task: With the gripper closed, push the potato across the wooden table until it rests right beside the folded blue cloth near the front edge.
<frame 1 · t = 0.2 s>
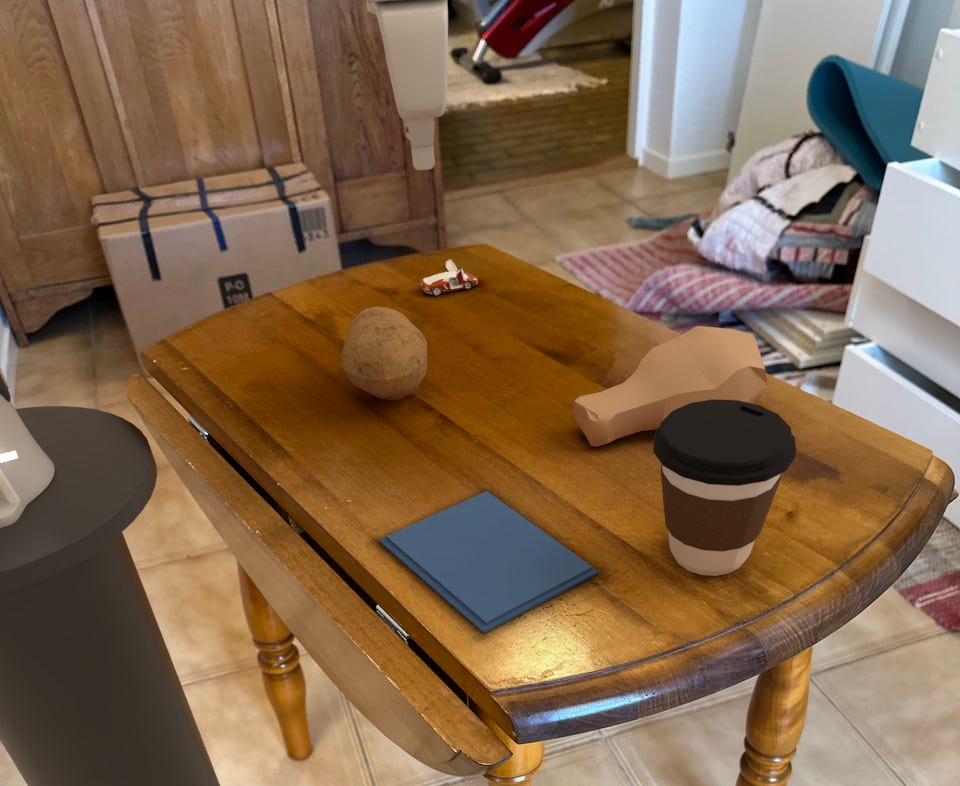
hand: (419, 152, 81), 27 cm above the table, tool pointing down, fingers open, 8 cm apart
toy car: (450, 289, 126), on the table
coffee cup: (708, 556, 80), on the table
potato: (390, 393, 105), on the table
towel: (485, 557, 81), on the table
squash: (669, 426, 96), on the table
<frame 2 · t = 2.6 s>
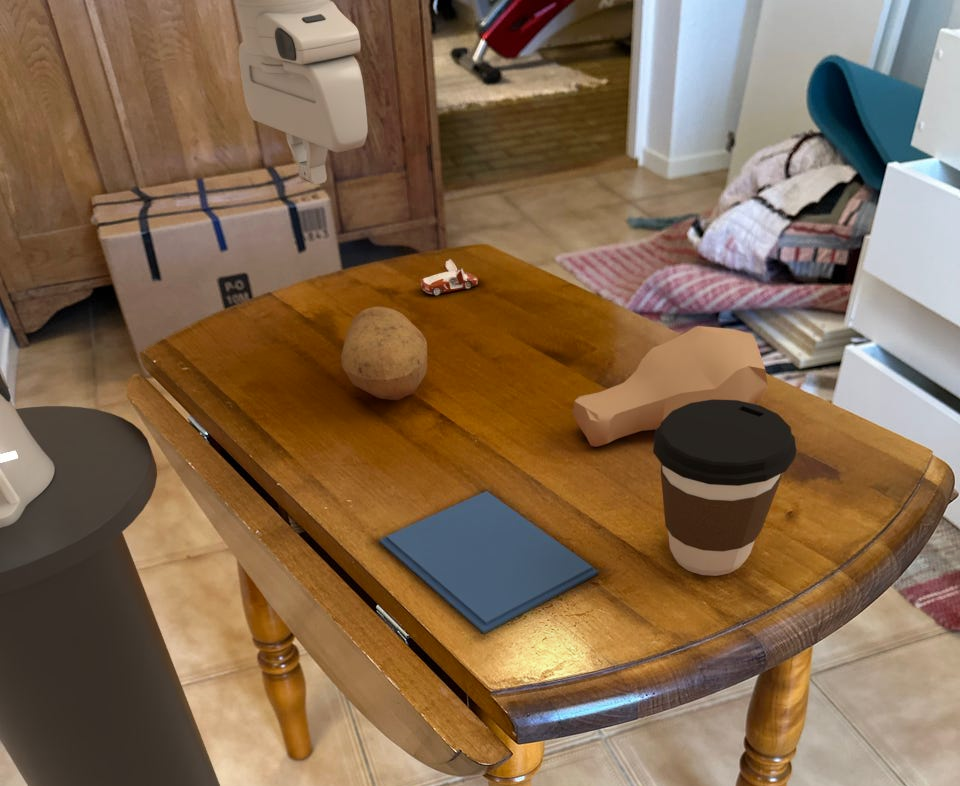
hand: (313, 181, 98), 20 cm above the table, tool pointing down, fingers closed
nothing on the table moved.
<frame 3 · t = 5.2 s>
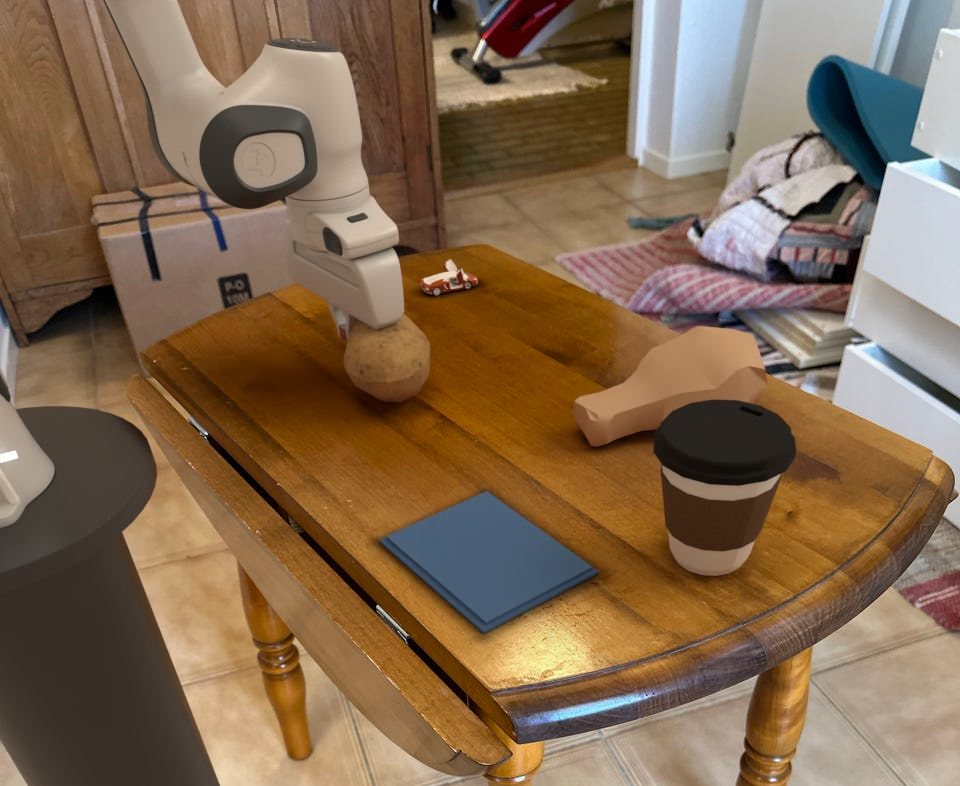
hand: (351, 340, 108), 3 cm above the table, tool pointing down, fingers closed
potato: (393, 395, 105), on the table, touching gripper
everything else where it was.
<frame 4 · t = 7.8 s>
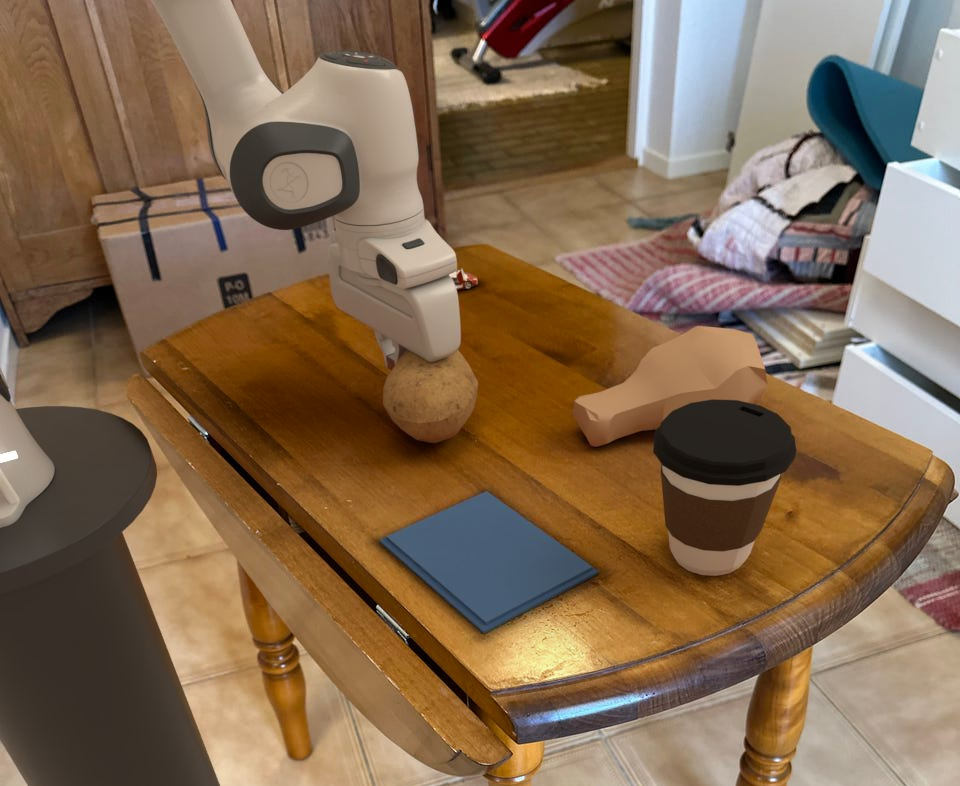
hand: (398, 370, 101), 3 cm above the table, tool pointing down, fingers closed
potato: (434, 432, 98), on the table, touching gripper
everything else where it was.
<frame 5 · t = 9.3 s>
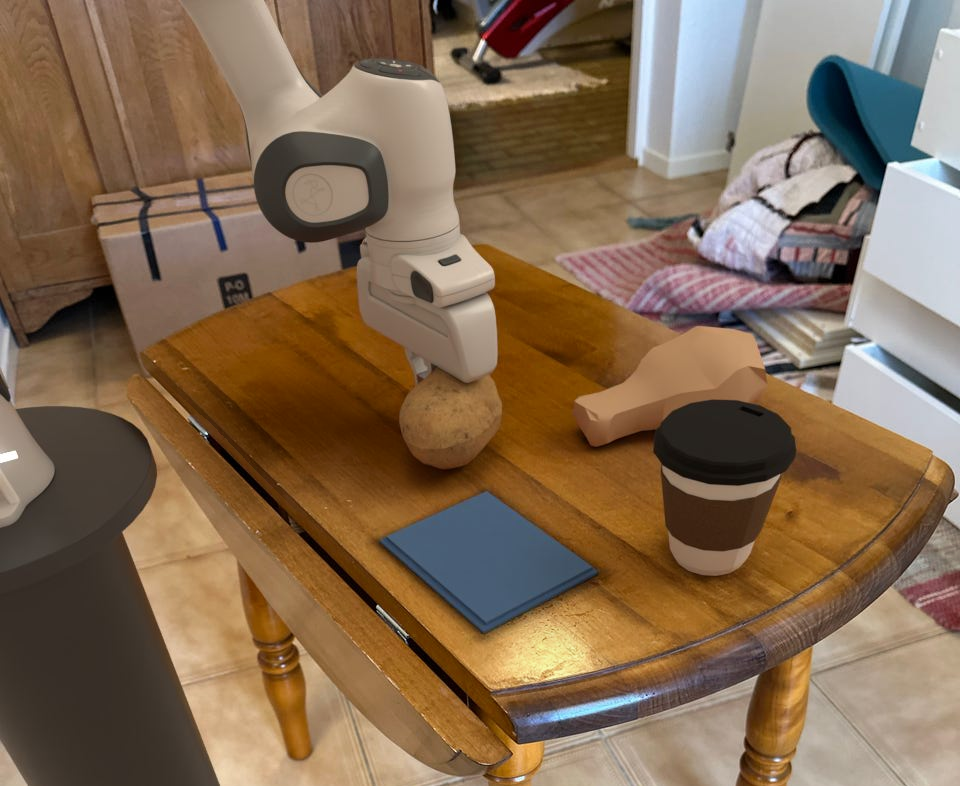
hand: (429, 389, 98), 3 cm above the table, tool pointing down, fingers closed
potato: (452, 457, 94), on the table, touching gripper
everything else where it was.
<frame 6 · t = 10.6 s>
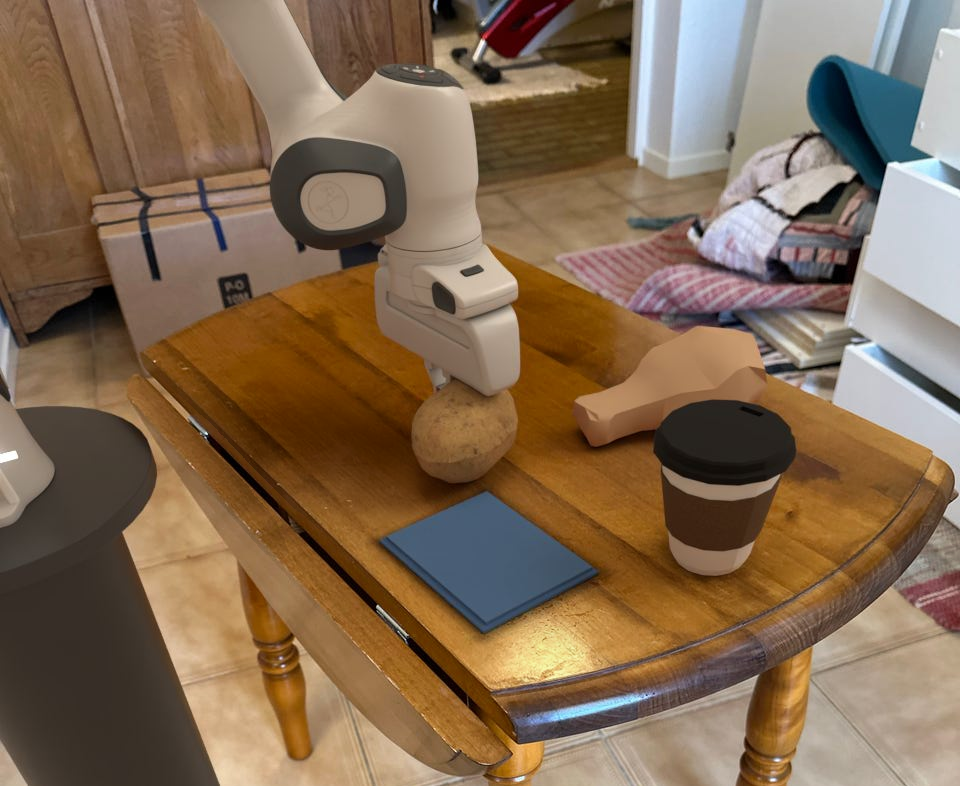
hand: (448, 401, 95), 3 cm above the table, tool pointing down, fingers closed
potato: (464, 471, 92), on the table, touching gripper
everything else where it was.
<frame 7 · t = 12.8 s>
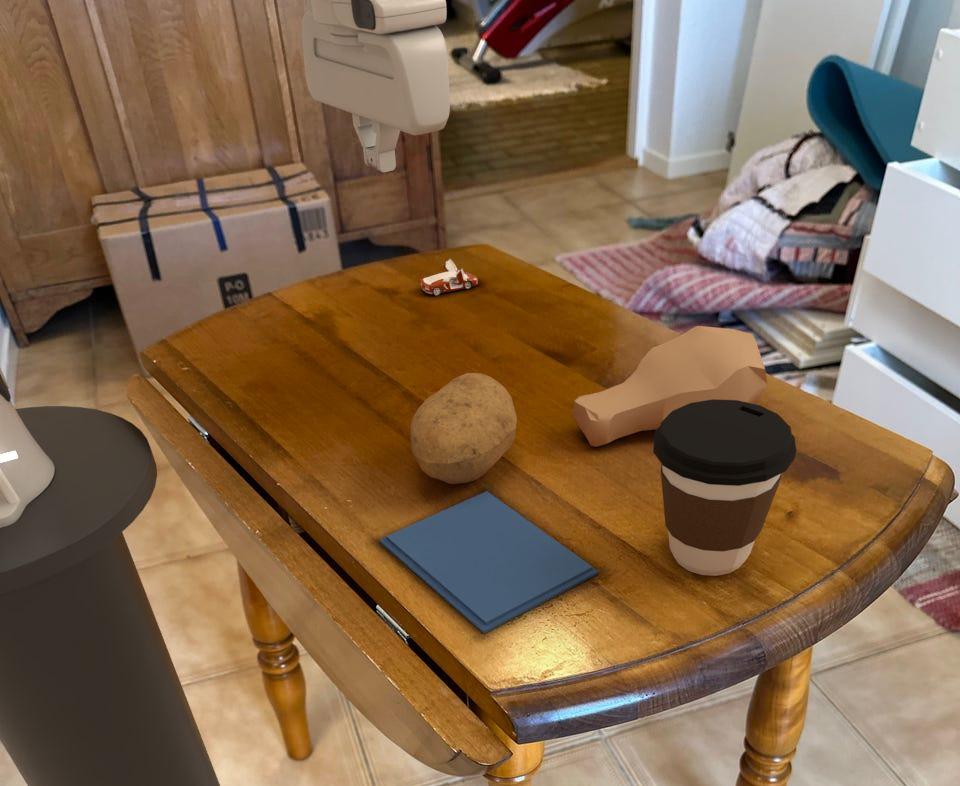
hand: (380, 168, 88), 23 cm above the table, tool pointing down, fingers closed
potato: (464, 471, 92), on the table
everything else where it was.
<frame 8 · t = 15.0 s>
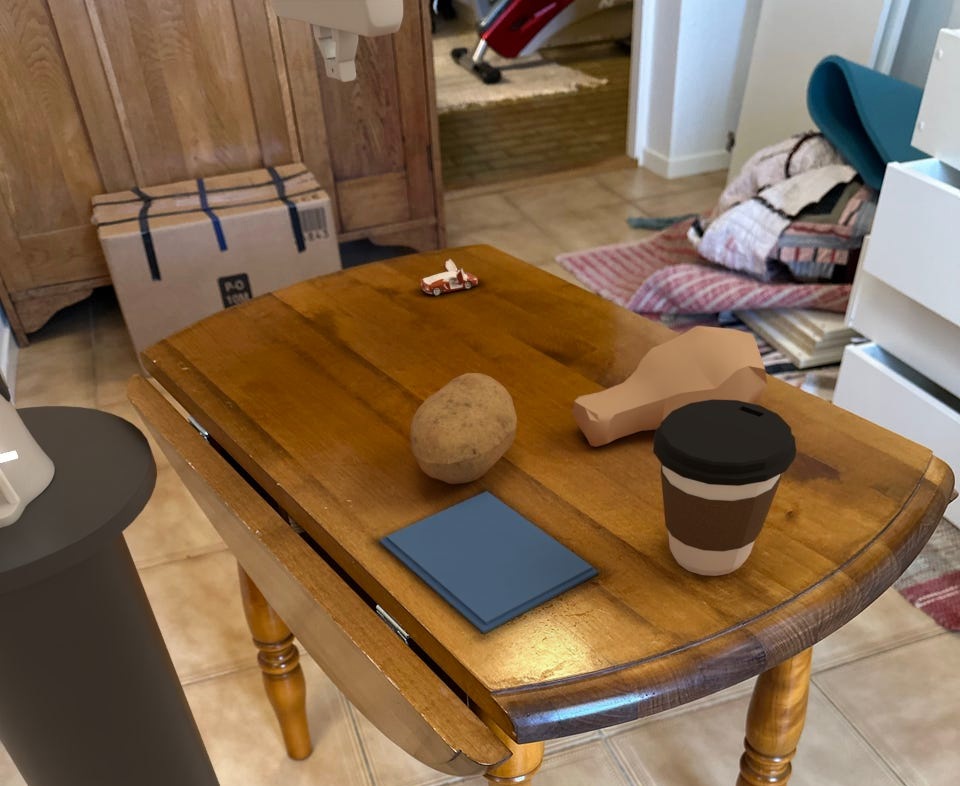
hand: (341, 79, 92), 29 cm above the table, tool pointing down, fingers closed
nothing on the table moved.
at the end: potato inside the target area on the table beside the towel (3.1 cm from its centre), on the table; potato moved 19.3 cm from its start; potato tilted 0° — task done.
